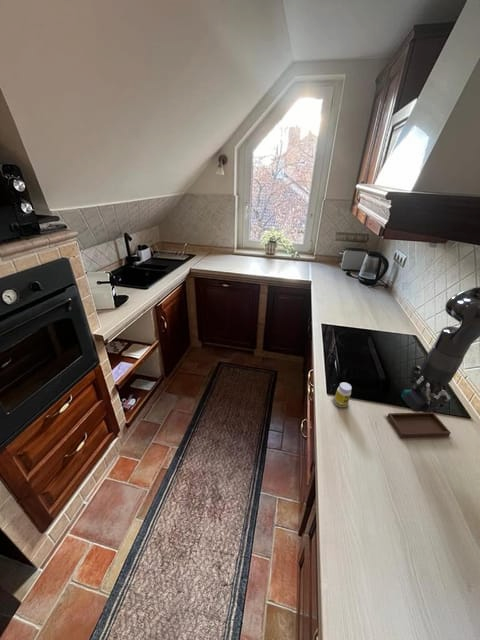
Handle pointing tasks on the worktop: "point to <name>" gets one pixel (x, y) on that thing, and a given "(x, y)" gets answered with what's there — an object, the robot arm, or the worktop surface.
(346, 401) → the supplement bottle
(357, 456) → the worktop surface
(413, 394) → the black block
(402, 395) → the teal pad
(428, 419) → the pad frame
